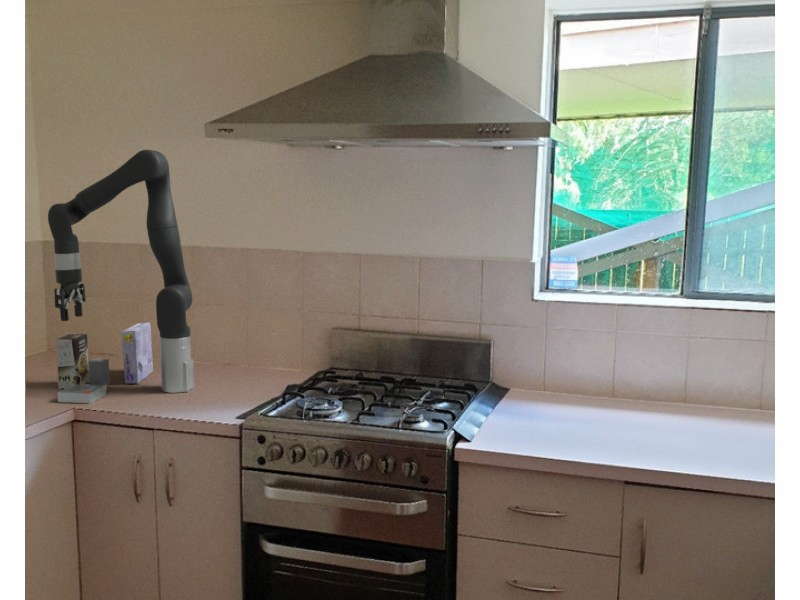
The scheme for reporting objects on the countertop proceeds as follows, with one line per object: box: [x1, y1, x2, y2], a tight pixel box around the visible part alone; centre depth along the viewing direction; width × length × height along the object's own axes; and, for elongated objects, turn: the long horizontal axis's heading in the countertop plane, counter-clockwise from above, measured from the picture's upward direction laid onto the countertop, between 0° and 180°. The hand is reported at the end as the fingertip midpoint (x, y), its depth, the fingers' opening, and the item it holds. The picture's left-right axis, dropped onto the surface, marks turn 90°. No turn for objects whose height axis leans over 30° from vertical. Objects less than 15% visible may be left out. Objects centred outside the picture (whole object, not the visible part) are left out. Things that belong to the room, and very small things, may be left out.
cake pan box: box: [121, 322, 154, 385], centre depth 258 cm, size 19×5×18 cm, turn 2°
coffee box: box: [56, 333, 89, 389], centre depth 246 cm, size 9×6×16 cm
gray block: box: [88, 357, 110, 390], centre depth 243 cm, size 4×4×10 cm
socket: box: [57, 383, 107, 404], centre depth 233 cm, size 10×10×4 cm
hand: (72, 318), depth 243 cm, fingers open, 8 cm apart
